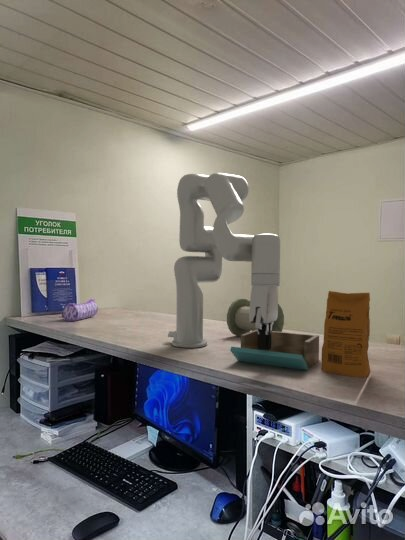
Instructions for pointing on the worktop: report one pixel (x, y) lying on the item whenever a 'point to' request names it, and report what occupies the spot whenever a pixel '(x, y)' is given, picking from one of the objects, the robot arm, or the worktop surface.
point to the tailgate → (269, 358)
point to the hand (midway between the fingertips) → (264, 348)
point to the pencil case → (80, 310)
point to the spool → (247, 318)
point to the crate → (287, 344)
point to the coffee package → (346, 334)
